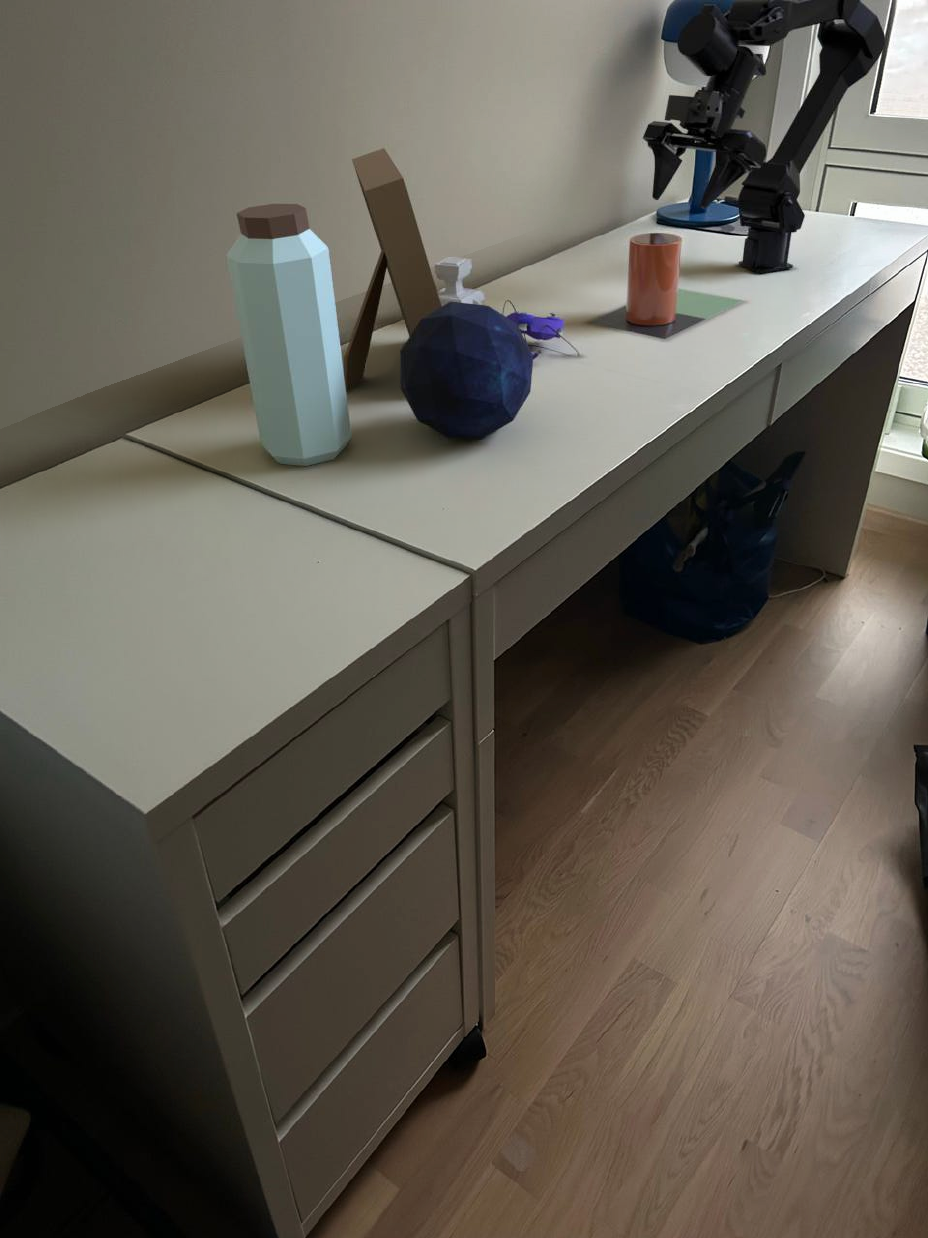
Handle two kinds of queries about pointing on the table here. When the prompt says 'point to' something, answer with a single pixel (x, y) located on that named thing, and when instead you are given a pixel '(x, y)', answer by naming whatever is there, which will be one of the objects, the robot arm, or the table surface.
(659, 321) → the tumbler
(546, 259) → the table surface
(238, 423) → the table surface
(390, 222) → the photo frame
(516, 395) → the decorative orb
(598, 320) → the desk mat
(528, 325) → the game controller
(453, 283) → the stamp
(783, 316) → the table surface
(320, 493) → the table surface
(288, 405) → the water bottle
